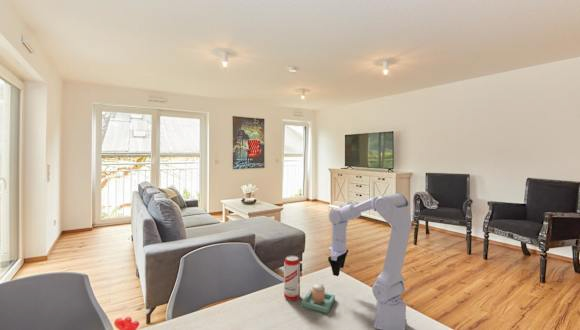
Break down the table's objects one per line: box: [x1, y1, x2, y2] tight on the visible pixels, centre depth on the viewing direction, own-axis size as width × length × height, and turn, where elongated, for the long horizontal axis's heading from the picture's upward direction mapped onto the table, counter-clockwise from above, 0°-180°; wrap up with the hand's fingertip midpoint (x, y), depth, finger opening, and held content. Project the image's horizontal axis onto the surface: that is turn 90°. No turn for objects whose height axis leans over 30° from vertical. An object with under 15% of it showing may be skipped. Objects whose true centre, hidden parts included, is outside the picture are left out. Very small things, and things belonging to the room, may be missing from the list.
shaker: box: [311, 283, 326, 306], centre depth 105 cm, size 5×5×6 cm
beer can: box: [283, 254, 301, 302], centre depth 109 cm, size 6×6×16 cm
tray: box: [300, 289, 336, 315], centre depth 105 cm, size 10×10×2 cm
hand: (338, 271), depth 111 cm, fingers open, 7 cm apart
